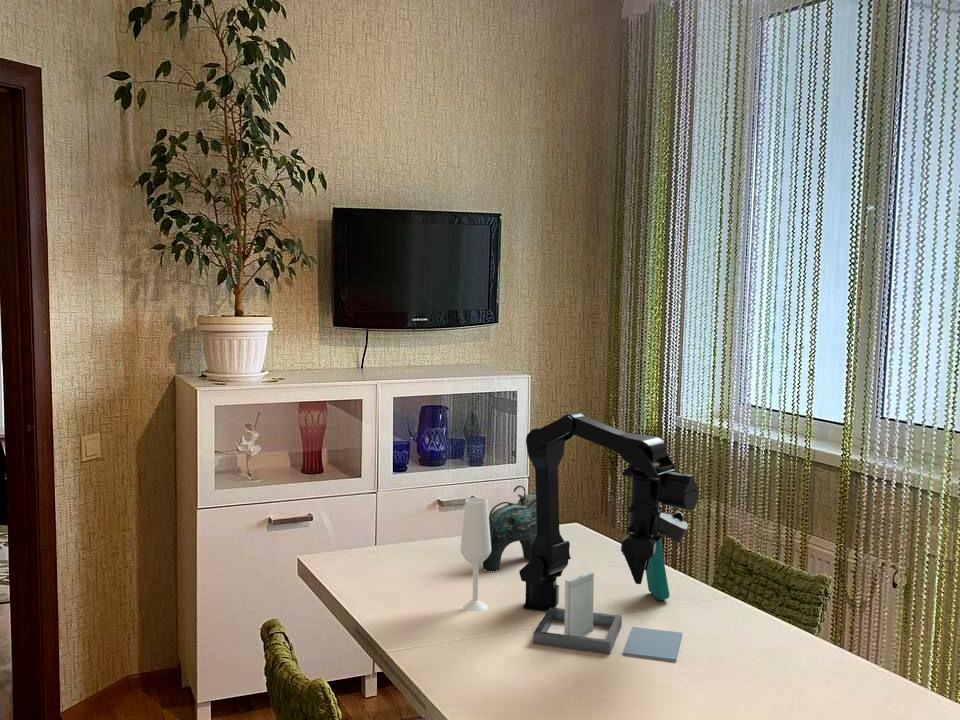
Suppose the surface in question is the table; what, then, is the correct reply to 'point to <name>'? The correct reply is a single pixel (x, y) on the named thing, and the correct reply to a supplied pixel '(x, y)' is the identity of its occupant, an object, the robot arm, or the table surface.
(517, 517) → the green bronze animal figure
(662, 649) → the mat
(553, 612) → the gray square frame
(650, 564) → the digital multimeter
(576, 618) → the hard drive
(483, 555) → the champagne flute
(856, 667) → the table surface
